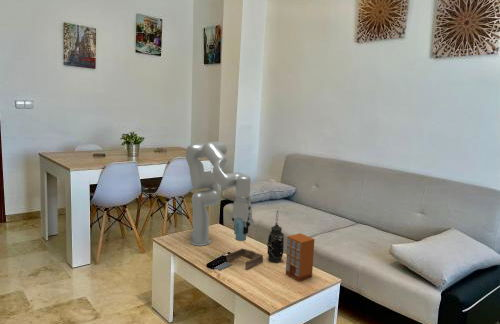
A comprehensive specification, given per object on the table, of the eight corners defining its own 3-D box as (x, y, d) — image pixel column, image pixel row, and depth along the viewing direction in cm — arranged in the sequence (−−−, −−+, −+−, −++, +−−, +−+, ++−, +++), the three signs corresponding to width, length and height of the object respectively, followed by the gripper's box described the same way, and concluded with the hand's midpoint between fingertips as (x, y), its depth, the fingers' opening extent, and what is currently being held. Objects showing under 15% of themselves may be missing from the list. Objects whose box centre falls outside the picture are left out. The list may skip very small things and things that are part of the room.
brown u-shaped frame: (226, 262, 206) (226, 255, 205) (242, 254, 216) (243, 248, 216) (247, 270, 197) (247, 262, 196) (263, 262, 208) (263, 255, 207)
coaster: (207, 265, 201) (207, 264, 201) (219, 260, 208) (219, 259, 208) (220, 270, 195) (220, 269, 195) (231, 265, 202) (231, 264, 202)
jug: (239, 236, 208) (240, 215, 206) (248, 239, 204) (249, 217, 202) (230, 240, 201) (231, 218, 199) (238, 243, 198) (239, 220, 196)
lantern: (281, 264, 206) (284, 213, 201) (265, 262, 207) (267, 212, 203) (283, 257, 215) (286, 209, 211) (267, 255, 217) (270, 207, 212)
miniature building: (284, 274, 194) (286, 236, 191) (297, 270, 199) (300, 233, 196) (298, 282, 186) (300, 242, 183) (311, 277, 192) (314, 239, 188)
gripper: (259, 201, 198) (258, 234, 201) (234, 194, 208) (233, 226, 211) (251, 203, 192) (249, 238, 195) (225, 197, 202) (224, 230, 205)
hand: (241, 231), depth 203 cm, fingers closed on jug, 5 cm apart
